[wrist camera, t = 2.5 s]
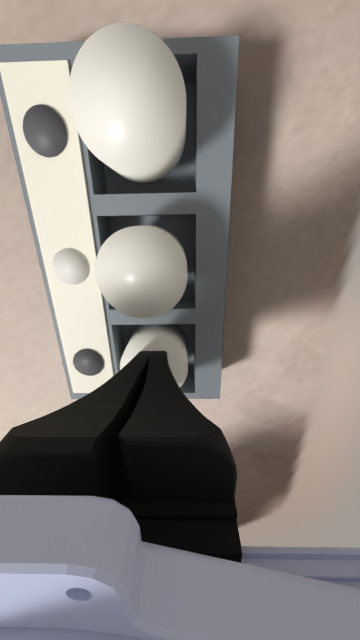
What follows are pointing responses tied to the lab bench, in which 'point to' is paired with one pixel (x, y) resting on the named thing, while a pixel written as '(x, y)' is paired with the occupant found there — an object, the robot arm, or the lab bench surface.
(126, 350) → the button
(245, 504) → the lab bench surface
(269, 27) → the lab bench surface
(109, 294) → the button
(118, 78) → the button
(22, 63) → the console
